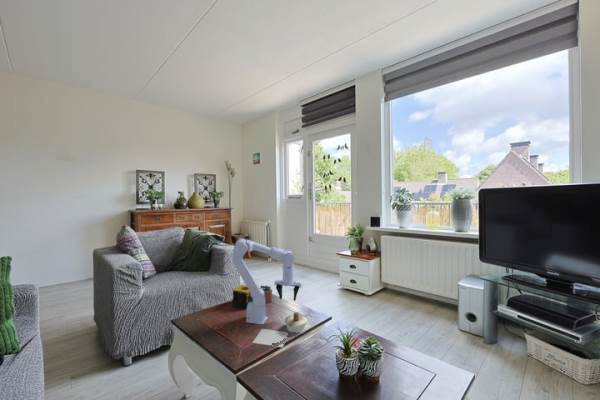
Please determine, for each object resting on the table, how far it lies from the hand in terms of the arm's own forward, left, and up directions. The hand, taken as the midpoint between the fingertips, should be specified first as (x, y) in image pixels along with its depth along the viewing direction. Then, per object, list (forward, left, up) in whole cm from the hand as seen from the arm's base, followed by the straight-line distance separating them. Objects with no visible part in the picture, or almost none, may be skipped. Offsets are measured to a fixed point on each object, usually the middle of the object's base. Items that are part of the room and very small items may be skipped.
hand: (287, 299), depth 142 cm
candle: (-29, +9, -11) cm, 32 cm away
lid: (+7, -9, -6) cm, 13 cm away
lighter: (-18, +16, -11) cm, 26 cm away
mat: (-2, -20, -10) cm, 23 cm away
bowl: (+7, -9, -10) cm, 15 cm away
